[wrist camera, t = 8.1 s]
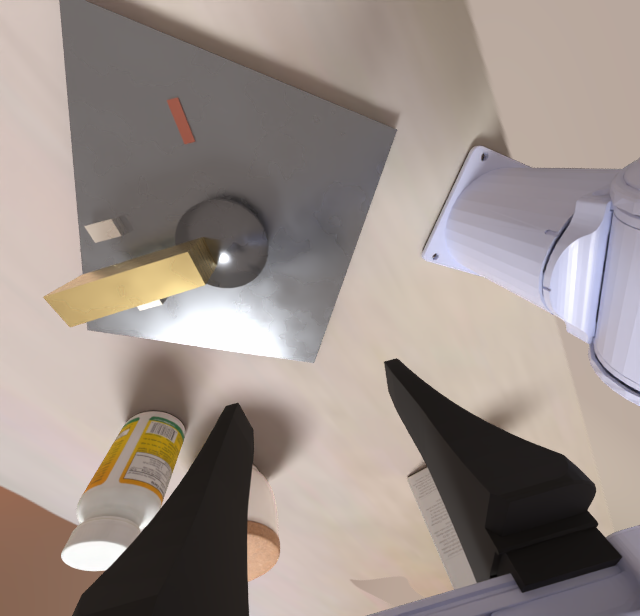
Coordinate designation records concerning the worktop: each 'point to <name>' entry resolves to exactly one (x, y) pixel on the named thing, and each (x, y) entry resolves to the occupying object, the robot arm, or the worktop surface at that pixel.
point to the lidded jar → (261, 527)
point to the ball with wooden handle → (173, 264)
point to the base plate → (213, 180)
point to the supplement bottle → (125, 490)
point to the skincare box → (441, 529)
